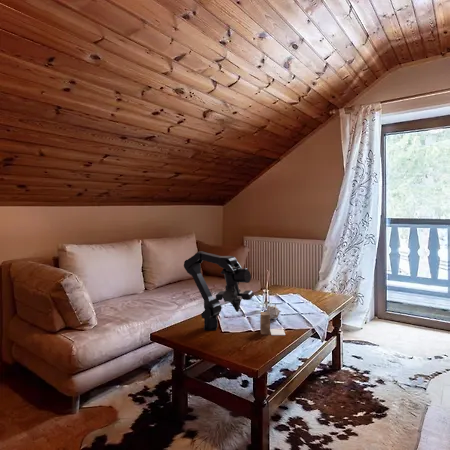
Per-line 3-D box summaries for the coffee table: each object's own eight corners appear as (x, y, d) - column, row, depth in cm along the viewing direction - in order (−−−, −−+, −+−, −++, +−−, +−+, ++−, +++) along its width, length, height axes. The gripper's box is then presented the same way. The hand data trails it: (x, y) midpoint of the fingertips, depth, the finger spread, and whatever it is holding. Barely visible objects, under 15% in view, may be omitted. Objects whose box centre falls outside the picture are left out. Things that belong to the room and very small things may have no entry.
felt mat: (271, 335, 175) (271, 334, 175) (269, 329, 182) (269, 329, 182) (285, 335, 175) (285, 334, 175) (283, 329, 182) (283, 329, 182)
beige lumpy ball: (275, 326, 196) (280, 316, 190) (261, 320, 198) (265, 309, 191) (279, 314, 203) (284, 304, 197) (265, 308, 204) (270, 297, 198)
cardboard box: (260, 334, 176) (261, 314, 176) (260, 330, 181) (260, 311, 180) (270, 334, 176) (270, 315, 175) (269, 330, 181) (269, 311, 180)
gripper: (207, 288, 171) (213, 318, 173) (242, 287, 163) (248, 318, 165) (218, 280, 181) (223, 308, 183) (251, 279, 172) (256, 309, 175)
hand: (237, 311), depth 176 cm, fingers closed
